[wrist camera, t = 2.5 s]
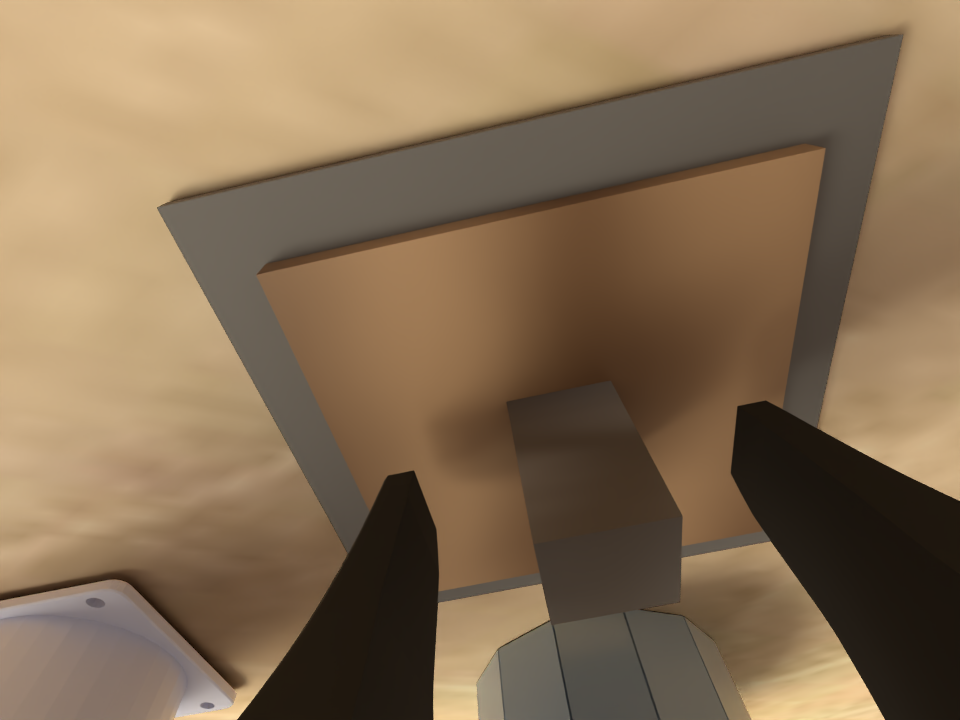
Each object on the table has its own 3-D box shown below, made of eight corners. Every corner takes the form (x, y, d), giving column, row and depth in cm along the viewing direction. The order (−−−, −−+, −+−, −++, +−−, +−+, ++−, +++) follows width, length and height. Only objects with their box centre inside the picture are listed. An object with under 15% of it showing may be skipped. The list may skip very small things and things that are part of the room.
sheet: (411, 579, 16) (401, 750, 12) (265, 263, 10) (150, 393, 6) (751, 515, 15) (858, 672, 11) (804, 143, 9) (1061, 200, 6)
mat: (381, 602, 17) (380, 613, 17) (167, 202, 10) (157, 207, 9) (785, 527, 16) (792, 537, 16) (885, 35, 9) (903, 34, 9)
